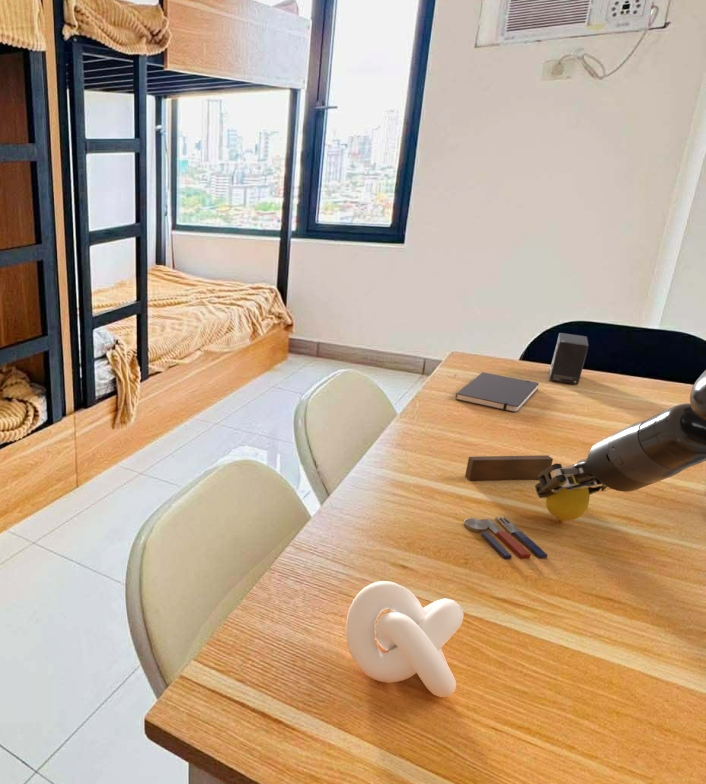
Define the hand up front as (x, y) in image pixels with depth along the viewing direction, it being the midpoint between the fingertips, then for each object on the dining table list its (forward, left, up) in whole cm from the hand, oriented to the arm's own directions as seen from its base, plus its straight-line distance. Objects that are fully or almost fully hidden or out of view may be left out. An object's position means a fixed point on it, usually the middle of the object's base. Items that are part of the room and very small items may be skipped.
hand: (558, 491), depth 98 cm
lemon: (-1, +2, -4) cm, 5 cm away
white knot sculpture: (+21, +45, -4) cm, 50 cm away
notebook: (+2, -59, -4) cm, 59 cm away
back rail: (+5, -11, -4) cm, 13 cm away
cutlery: (+8, +11, -4) cm, 14 cm away
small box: (-14, -79, -4) cm, 80 cm away
